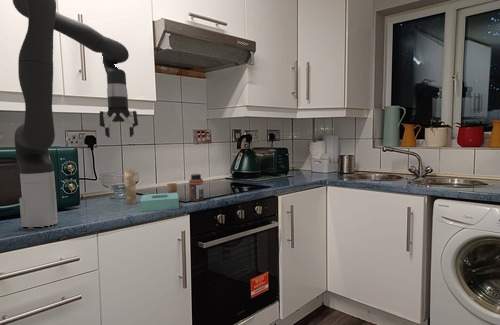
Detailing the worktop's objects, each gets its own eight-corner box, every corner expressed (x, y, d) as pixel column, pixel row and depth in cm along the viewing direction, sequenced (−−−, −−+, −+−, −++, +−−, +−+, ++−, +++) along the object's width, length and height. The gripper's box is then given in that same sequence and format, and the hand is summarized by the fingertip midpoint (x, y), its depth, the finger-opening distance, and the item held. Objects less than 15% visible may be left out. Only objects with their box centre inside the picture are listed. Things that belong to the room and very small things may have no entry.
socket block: (140, 211, 124) (140, 201, 124) (143, 204, 138) (142, 194, 137) (179, 208, 127) (178, 198, 127) (177, 201, 141) (177, 192, 141)
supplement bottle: (187, 200, 143) (185, 174, 142) (198, 198, 147) (197, 173, 146) (195, 202, 139) (194, 175, 138) (206, 200, 143) (205, 174, 142)
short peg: (168, 200, 144) (167, 184, 143) (167, 199, 148) (167, 183, 147) (177, 200, 145) (176, 184, 144) (177, 198, 149) (176, 183, 148)
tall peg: (126, 204, 139) (124, 170, 138) (127, 202, 143) (125, 170, 142) (136, 203, 140) (134, 170, 139) (136, 201, 144) (135, 169, 143)
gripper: (96, 95, 128) (98, 137, 129) (135, 95, 131) (137, 136, 132) (100, 97, 135) (103, 137, 137) (137, 97, 138) (139, 136, 139)
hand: (120, 137), depth 134 cm, fingers open, 8 cm apart
